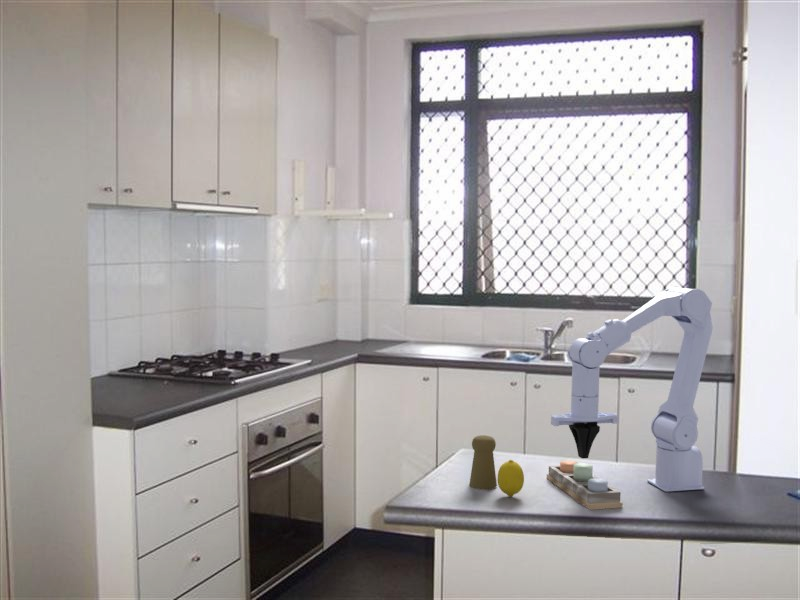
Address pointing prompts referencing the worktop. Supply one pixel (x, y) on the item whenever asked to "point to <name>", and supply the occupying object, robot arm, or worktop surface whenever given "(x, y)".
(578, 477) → the button sage
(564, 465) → the button terracotta
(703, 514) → the worktop surface
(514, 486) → the lemon
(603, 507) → the panel
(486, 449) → the pepper mill
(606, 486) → the button slate
